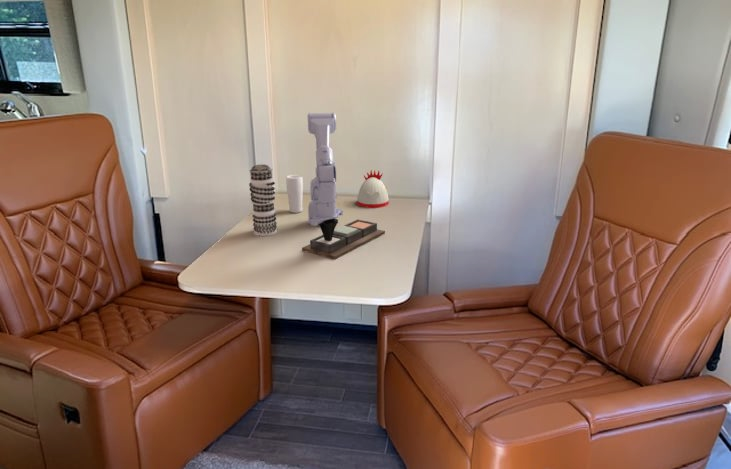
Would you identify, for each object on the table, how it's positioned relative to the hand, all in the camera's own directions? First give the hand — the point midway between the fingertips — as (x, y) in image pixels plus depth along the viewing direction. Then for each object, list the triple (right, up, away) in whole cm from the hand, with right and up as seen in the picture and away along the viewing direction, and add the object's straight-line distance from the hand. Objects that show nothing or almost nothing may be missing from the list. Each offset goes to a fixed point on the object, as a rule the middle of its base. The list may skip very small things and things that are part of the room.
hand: (328, 240), depth 175 cm
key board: (+5, -1, +9) cm, 10 cm away
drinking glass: (-17, +11, +43) cm, 48 cm away
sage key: (+5, +2, +8) cm, 10 cm away
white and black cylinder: (-25, +3, +19) cm, 31 cm away
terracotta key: (+11, +3, +15) cm, 19 cm away
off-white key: (0, -2, +1) cm, 2 cm away
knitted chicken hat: (+16, +15, +54) cm, 59 cm away
